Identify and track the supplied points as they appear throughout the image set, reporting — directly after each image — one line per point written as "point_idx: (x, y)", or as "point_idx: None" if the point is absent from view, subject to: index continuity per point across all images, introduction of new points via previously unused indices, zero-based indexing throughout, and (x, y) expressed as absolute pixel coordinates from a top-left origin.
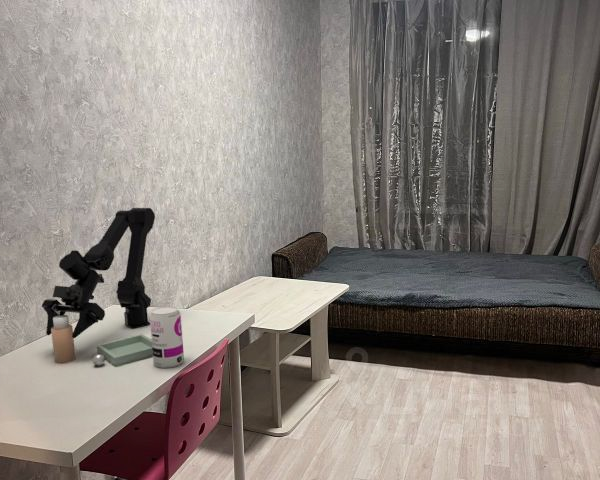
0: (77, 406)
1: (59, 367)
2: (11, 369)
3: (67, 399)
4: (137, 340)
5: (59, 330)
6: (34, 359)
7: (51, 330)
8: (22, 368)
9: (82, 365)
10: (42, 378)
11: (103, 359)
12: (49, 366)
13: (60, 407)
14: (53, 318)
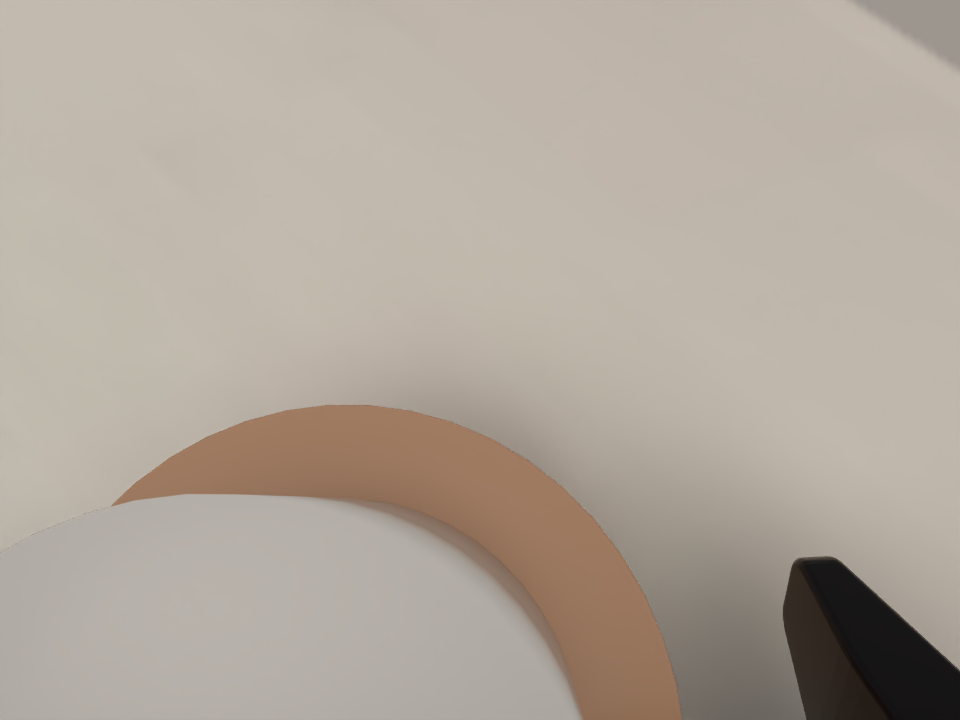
0: None
1: (302, 355)
2: (862, 86)
3: None
4: None
5: (171, 473)
6: (903, 458)
7: (484, 436)
8: (753, 159)
9: (50, 518)
10: (236, 32)
11: None
12: (461, 335)
13: None
14: (404, 581)
